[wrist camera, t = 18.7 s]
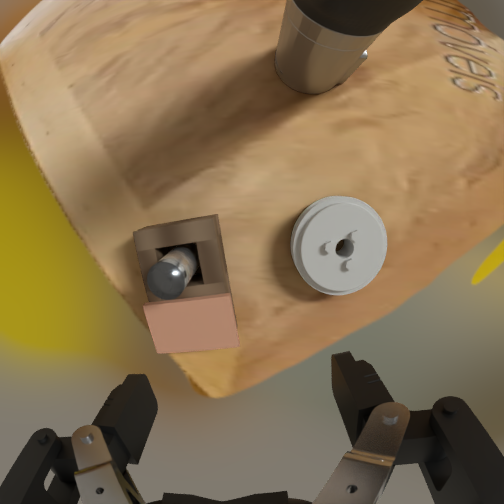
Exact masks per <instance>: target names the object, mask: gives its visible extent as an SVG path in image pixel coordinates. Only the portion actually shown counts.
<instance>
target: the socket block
mask: <svg viewBox="0 0 504 504" xmlns="http://www.w3.org/2000/svg"><path fill="white" fill-rule="evenodd" d="M133 236H134V241H135V246H136V250H137V255H138V259H139V264H140V268H141V273H142V277H143V281H144V285H145V289H146V293H147V297H148V300H149V302H158V301H167V300H163V299H160V298H158V297H157V296H155V295H154V294H153V293H152V292H151V290H150V289H149V287H148V284H147V274H148V272H149V270H150V268H151V267H152V266H153V265H154V264H156V263H157V262H158V261H159V260H160V259H162V258H163V257H164V256H165V255H166V254H168V249H167V246H174V245H180V244H186V243H192V242H196V244H197V250H198V255H199V260H200V265H201V271H202V274H197V275H193V276H192V278H191V279H190V281H189V282H188V284H187V286H186V287H185V289H184V290H183V292H182V293H181V295H180V296H179V297H177V298H175V299H172V300H176V299H184V298H193V297H201V296H209V295H217V294H224V293H230V295H231V300H232V294H231V289H230V283H229V277H228V272H227V266H226V260H225V254H224V249H223V243H222V237H221V231H220V225H219V219H218V214H216V215H209V216H203V217H197V218H191V219H186V220H180V221H174V222H169V223H163V224H158V225H152V226H147V227H144V228H142V229H139V230H137V231H134V232H133ZM232 305H233V300H232ZM233 311H234V316H235V310H234V305H233ZM235 321H236V316H235ZM236 326H237V321H236Z"/></svg>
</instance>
